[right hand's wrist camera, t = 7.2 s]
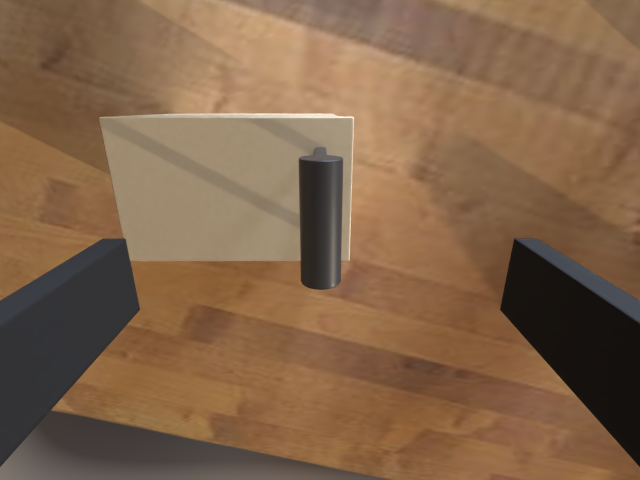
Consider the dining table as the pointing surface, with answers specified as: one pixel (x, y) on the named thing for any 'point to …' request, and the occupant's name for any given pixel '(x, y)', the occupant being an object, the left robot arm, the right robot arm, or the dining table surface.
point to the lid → (235, 189)
